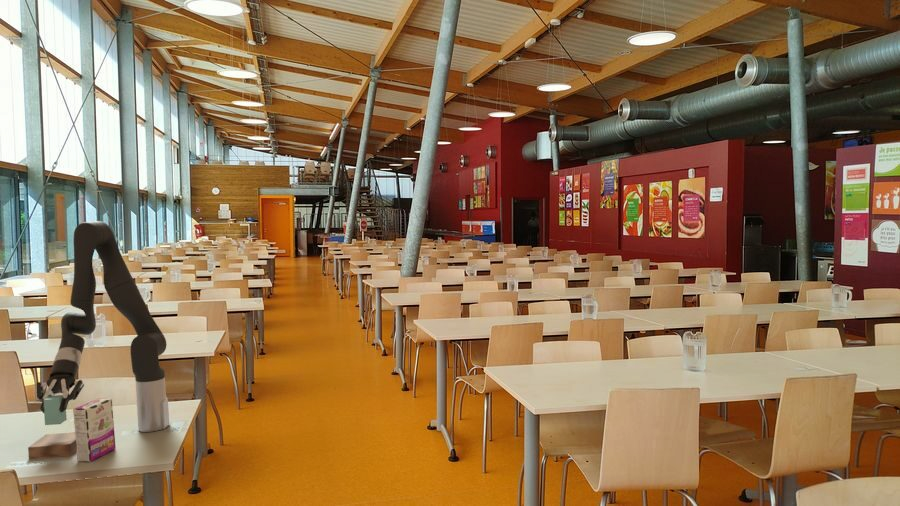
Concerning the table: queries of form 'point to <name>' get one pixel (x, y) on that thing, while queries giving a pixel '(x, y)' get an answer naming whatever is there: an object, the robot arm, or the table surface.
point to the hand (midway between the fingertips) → (52, 411)
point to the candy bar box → (94, 429)
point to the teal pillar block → (53, 410)
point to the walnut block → (53, 446)
